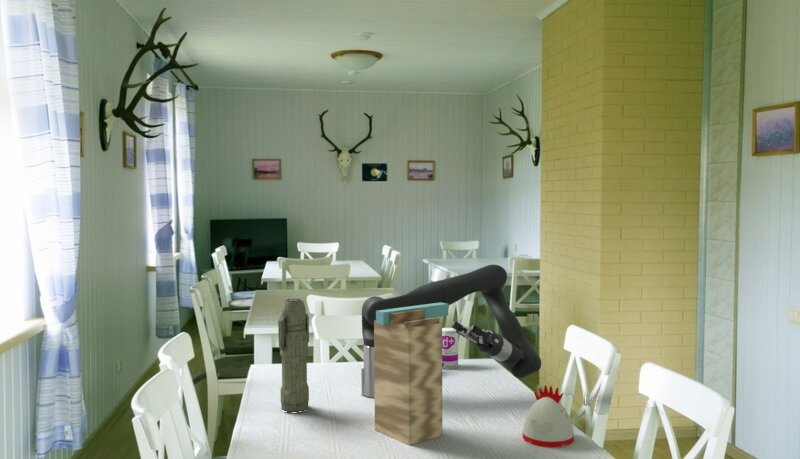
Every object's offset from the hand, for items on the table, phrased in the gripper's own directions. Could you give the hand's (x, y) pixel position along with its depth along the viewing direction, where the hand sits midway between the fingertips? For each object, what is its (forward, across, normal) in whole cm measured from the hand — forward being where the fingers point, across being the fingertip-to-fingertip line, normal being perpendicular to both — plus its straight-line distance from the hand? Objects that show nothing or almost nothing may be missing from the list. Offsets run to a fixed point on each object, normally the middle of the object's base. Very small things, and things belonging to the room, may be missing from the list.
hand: (462, 325), depth 220 cm
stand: (+6, +2, +36) cm, 36 cm away
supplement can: (-46, -48, +6) cm, 66 cm away
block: (+19, 0, +6) cm, 20 cm away
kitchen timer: (-18, +30, +22) cm, 42 cm away
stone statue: (+18, -38, +43) cm, 60 cm away
